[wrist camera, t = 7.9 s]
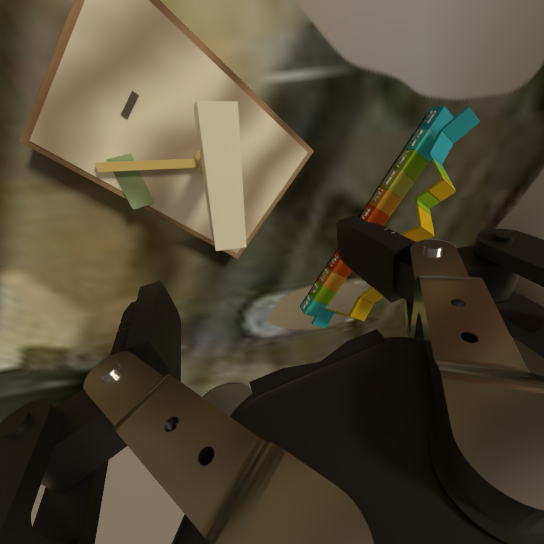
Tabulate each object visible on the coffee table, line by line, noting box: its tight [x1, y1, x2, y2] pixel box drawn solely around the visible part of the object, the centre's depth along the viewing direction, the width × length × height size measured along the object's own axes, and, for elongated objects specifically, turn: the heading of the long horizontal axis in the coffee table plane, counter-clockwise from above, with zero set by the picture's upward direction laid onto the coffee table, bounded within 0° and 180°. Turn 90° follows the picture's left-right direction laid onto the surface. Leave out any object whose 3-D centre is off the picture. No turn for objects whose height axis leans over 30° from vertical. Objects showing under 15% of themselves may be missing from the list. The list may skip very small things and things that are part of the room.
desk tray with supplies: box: [20, 0, 314, 259], centre depth 24 cm, size 20×14×3 cm
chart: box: [300, 106, 480, 328], centre depth 29 cm, size 30×3×15 cm, turn 149°
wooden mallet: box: [95, 101, 247, 251], centre depth 18 cm, size 10×8×10 cm
